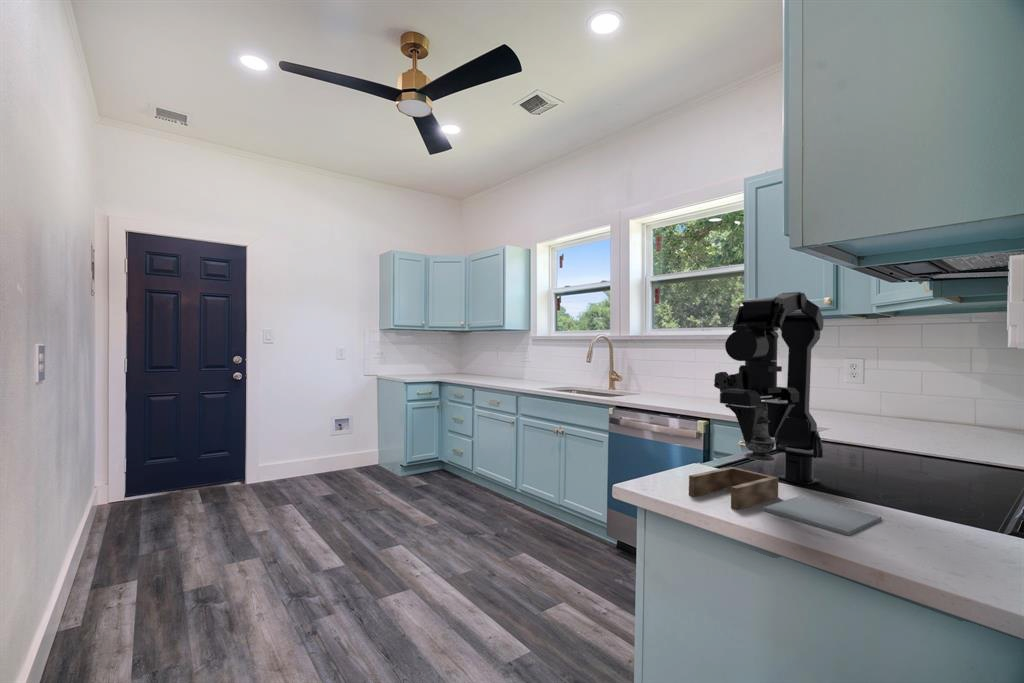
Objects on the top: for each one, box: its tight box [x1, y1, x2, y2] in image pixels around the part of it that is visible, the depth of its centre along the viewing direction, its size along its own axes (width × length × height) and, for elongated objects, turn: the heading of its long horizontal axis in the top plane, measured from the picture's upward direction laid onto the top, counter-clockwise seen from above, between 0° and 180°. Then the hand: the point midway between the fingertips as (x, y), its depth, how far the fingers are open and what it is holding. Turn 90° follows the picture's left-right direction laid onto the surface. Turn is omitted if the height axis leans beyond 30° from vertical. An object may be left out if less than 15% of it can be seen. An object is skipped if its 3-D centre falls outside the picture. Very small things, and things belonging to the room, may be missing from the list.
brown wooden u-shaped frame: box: [688, 466, 779, 511], centre depth 98 cm, size 15×10×4 cm
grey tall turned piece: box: [742, 400, 776, 462], centre depth 95 cm, size 6×6×12 cm
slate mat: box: [762, 495, 883, 536], centre depth 88 cm, size 14×14×1 cm
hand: (759, 439), depth 95 cm, fingers closed on grey tall turned piece, 8 cm apart
